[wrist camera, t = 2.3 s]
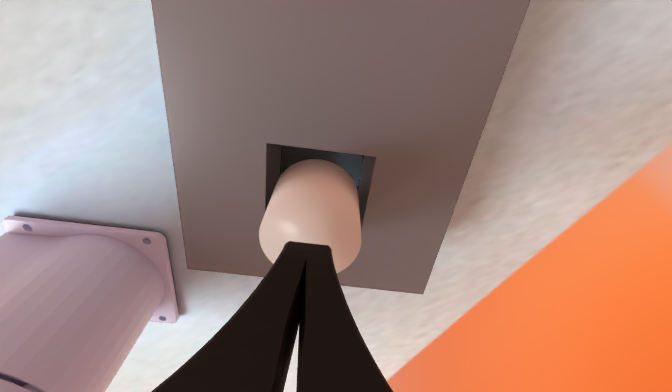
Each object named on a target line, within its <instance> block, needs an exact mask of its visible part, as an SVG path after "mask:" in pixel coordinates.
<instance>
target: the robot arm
mask: <svg viewBox="0 0 672 392" xmlns="http://www.w3.org/2000/svg"><path fill="white" fill-rule="evenodd" d="M2 225H3V227H4V230H5V232H6V233H5V234H3V235H2V236H0V392H105V391H106V389H107V388H108V386H109V384H110V383H111V381H112V380H113V378H114V376H115V375H116V373H117V371H118V370H119V368H120V367H121V365H122V363H123V362H124V360H125V359H126V357H127V355H128V354H129V352H130V351H131V349H132V347H133V346H134V344H135V343H136V341H137V339H138V338H139V336H140V335H141V333H142V331H143V330H144V328H145V327H146V325H147V323H148V322H149V321H152V322H162V323H175V322H177V320H178V318H179V313H178V307H177V301H176V295H175V289H174V283H173V278H172V272H171V266H170V260H169V254H168V248H167V242H166V238H165V236H164V235H163V234H161V233H158V232H152V231H143V230H134V229H125V228H117V227H108V226H99V225H90V224H81V223H72V222H64V221H55V220H46V219H37V218H28V217H19V216H8V217H6V218H5V219H3V220H2ZM147 238H148V239H150V240H148V239H147ZM298 326H299V345H298V368H297V391H296V392H393V391H392V389H391V388H390V386H389V385H388V383H387V381H386V380H385V378H384V376H383V375H382V373H381V371H380V369H379V368H378V366H377V364H376V363H375V361H374V359H373V357H372V355H371V353H370V352H369V350H368V348H367V346H366V344H365V342H364V340H363V338H362V336H361V334H360V332H359V330H358V328H357V326H356V323H355V321H354V319H353V317H352V314H351V312H350V310H349V307H348V305H347V302H346V300H345V297H344V294H343V291H342V289H341V286H340V283H339V280H338V277H337V273H336V270H335V266H334V262H333V257H332V249H331V248H330V247H329V245H320V244H311V243H302V242H294V241H288V242H287V243H285V245H284V247H283V249H282V251H281V253H280V255H279V256H278V258H277V260H276V261H275V263H274V264H273V266H272V267H271V269H270V270H269V272H268V273H267V274H266V276H265V277H264V278H263V280H262V281H261V282H260V284H259V285H258V286H257V288H256V289H255V290H254V292H253V293H252V294H251V295H250V296H249V298H248V299H247V300H246V301H245V302H244V304H243V305H242V306H241V307H240V308H239V310H238V311H237V312H236V313H235V314H234V315H233V316H232V317H231V319H230V320H229V321H228V322H227V323H226V324H225V325H224V326H223V327H222V328H221V329H220V330H219V331H218V332H217V333H216V334H215V335H214V336H213V337H212V338H211V339H210V340H209V341H208V342H207V343H206V344H205V345H204V346H203V347H202V348H201V349H200V350H199V351H198V352H197V353H196V354H194V355H193V356H192V357H191V358H190V359H189V360H188V361H187V362H186V363H185V364H184V365H182V366H181V367H180V368H179V369H178V370H177V371H176V372H175V373H173V374H172V375H171V376H170V377H169V378H167V379H166V380H165V381H164V382H163V383H161V384H160V385H159V386H158V387H156V388H155V389H154V390H153V391H152V392H283V390H284V386H285V382H286V377H287V373H288V369H289V365H290V360H291V356H292V352H293V348H294V343H295V339H296V335H297V331H298Z"/></svg>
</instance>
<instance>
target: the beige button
mask: <svg viewBox="0 0 672 392" xmlns="http://www.w3.org/2000/svg"><path fill="white" fill-rule="evenodd" d="M259 240H260V245H261V247H262V250H263V252H264V253H265V255H266V256H267V258H268V259H269V260H270V261H271V262H272V263H273V264H274V263H275V261H276V260H277V258H278V256H279V255H280V253H281V251H282V249H283V247H284V245H285V243H287V242H288V241H294V242H302V243H311V244H320V245H329V247H330V248H331V249H332V257H333V262H334V266H335V270H336V273H339V272H341V271H342V270H344V269H346V268H347V267H348V266H349V265H350V264H351V263H352V262H353V261H354V260H355V258H356V257H357V255H358V253H359V251H360V247H361V225H360V211H359V198H358V190H357V186H356V183H355V182H354V180H353V178H352V177H351V175H350V174H349V173H348V172H347V171H346V170H345V169H343V168H342V167H341V166H339V165H337V164H335V163H333V162H330V161H327V160H322V159H308V160H303V161H300V162H297V163H295V164H293V165H291V166H290V167H288V168H287V169H286V170H285V171H284V172H283V173H282V174H281V176H280V177H279V179H278V181H277V183H276V186H275V189H274V191H273V194H272V196H271V199H270V202H269V204H268V207H267V209H266V212H265V215H264V217H263V220H262V222H261V225H260V229H259Z"/></svg>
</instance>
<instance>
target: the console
mask: <svg viewBox="0 0 672 392" xmlns="http://www.w3.org/2000/svg"><path fill="white" fill-rule="evenodd" d="M151 2H152V10H153V17H154V25H155V32H156V39H157V47H158V54H159V62H160V69H161V76H162V84H163V91H164V99H165V106H166V113H167V121H168V128H169V135H170V143H171V150H172V158H173V165H174V172H175V180H176V187H177V195H178V202H179V209H180V217H181V224H182V232H183V239H184V246H185V254H186V261H187V269H195V270H204V271H213V272H223V273H232V274H241V275H250V276H259V277H265V276H266V274H267V273H268V272H269V270H270V269H271V267H272V266H273V263H272V262H271V261H270V260H269V259H268V258H267V256H266V255H265V253H264V252H263V250H262V247H261V245H260V240H259V229H260V225H261V222H262V220H263V217H264V215H265V212H266V209H267V207H268V204H269V202H270V199H271V196H272V194H273V191H274V189H275V186H276V183H277V181H278V179H279V177H280V168H281V146H282V145H285V146H293V147H301V148H309V149H317V150H325V151H333V152H341V153H349V154H357V155H364V160H363V165H362V170H361V176H360V181H359V187H358V198H359V211H360V225H361V247H360V251H359V253H358V255H357V257H356V258H355V260H354V261H353V262H352V263H351V264H350V265H349V266H348V267H347V268H346V269H344V270H342V271H341V272H339V273H337V277H338V280H339V283H340V285H342V286H351V287H361V288H370V289H379V290H388V291H397V292H407V293H416V294H423V293H424V290H425V287H426V285H427V282H428V279H429V276H430V274H431V271H432V268H433V265H434V263H435V260H436V257H437V254H438V252H439V249H440V246H441V244H442V241H443V238H444V235H445V233H446V230H447V227H448V224H449V222H450V219H451V216H452V213H453V211H454V208H455V205H456V202H457V200H458V197H459V194H460V191H461V189H462V186H463V183H464V180H465V178H466V175H467V172H468V169H469V167H470V164H471V161H472V159H473V156H474V153H475V150H476V148H477V145H478V142H479V139H480V137H481V134H482V131H483V128H484V126H485V123H486V120H487V117H488V115H489V112H490V109H491V106H492V104H493V101H494V98H495V95H496V93H497V90H498V87H499V84H500V82H501V79H502V76H503V74H504V71H505V68H506V65H507V63H508V60H509V57H510V54H511V52H512V49H513V46H514V43H515V41H516V38H517V35H518V32H519V30H520V27H521V24H522V21H523V19H524V16H525V13H526V10H527V8H528V5H529V2H530V0H151Z"/></svg>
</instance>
